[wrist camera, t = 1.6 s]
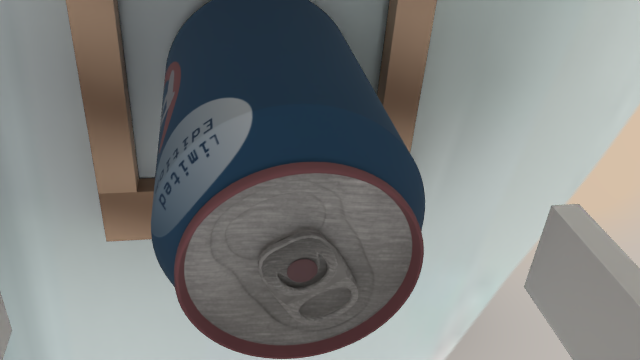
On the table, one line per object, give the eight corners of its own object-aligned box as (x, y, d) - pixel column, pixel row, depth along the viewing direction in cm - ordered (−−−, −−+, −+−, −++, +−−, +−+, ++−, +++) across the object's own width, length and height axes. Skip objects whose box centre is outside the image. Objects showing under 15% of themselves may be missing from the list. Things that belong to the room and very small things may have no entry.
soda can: (129, 33, 22) (74, 242, 12) (297, -58, 21) (387, 83, 11) (226, 169, 26) (244, 411, 16) (370, 96, 25) (484, 302, 15)
